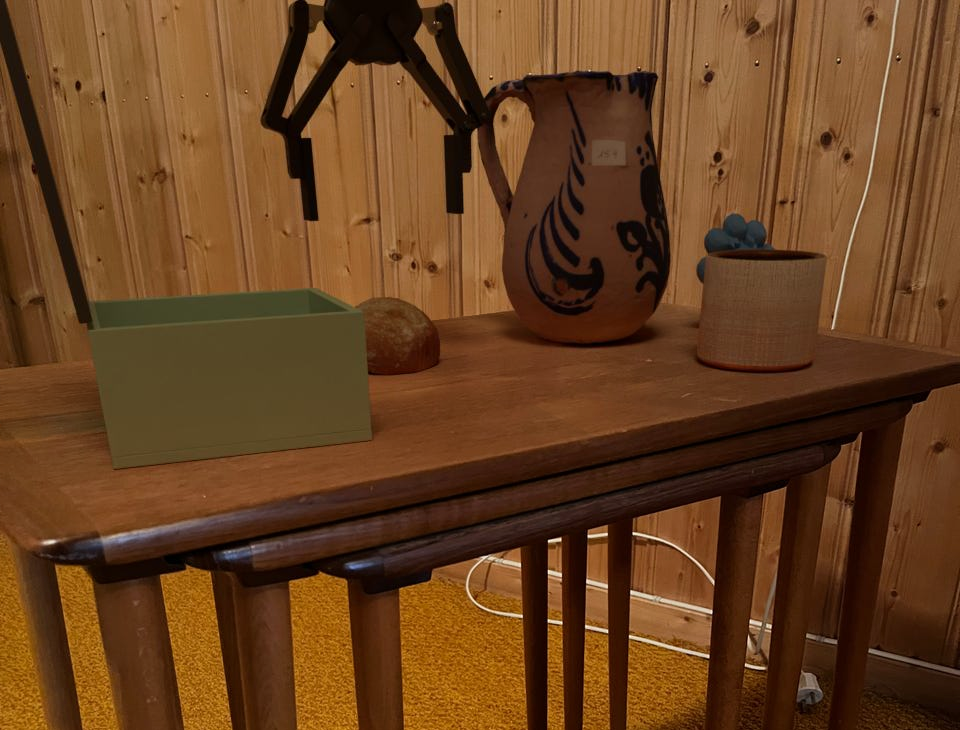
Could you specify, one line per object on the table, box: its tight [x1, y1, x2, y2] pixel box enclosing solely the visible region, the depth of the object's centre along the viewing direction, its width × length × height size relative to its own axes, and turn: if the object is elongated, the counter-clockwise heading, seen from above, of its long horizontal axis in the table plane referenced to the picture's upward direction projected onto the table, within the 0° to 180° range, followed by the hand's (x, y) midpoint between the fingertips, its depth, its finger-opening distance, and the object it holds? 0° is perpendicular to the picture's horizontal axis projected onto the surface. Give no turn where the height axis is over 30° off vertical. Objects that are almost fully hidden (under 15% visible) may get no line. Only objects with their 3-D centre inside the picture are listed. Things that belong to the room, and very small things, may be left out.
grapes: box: [696, 212, 776, 285], centre depth 108 cm, size 12×7×12 cm, turn 120°
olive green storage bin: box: [85, 287, 373, 470], centre depth 71 cm, size 18×15×9 cm
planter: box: [696, 249, 828, 373], centre depth 91 cm, size 11×11×10 cm
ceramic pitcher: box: [476, 70, 672, 345], centre depth 101 cm, size 18×21×25 cm
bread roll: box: [354, 296, 441, 376], centre depth 93 cm, size 10×10×8 cm
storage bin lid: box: [0, 0, 92, 325], centre depth 62 cm, size 18×15×1 cm
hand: (384, 217), depth 89 cm, fingers open, 13 cm apart
